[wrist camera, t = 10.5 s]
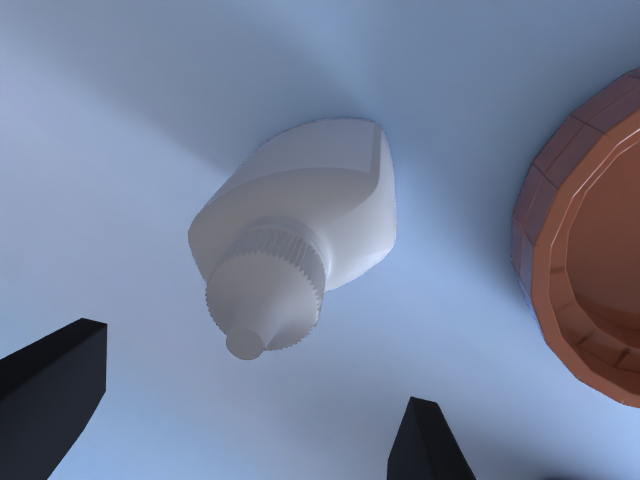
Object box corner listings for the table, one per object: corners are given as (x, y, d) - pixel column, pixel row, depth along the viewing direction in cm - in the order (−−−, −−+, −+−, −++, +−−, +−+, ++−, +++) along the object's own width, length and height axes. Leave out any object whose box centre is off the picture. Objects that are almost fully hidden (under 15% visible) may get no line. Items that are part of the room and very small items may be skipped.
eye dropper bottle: (260, 91, 19) (97, 197, 8) (405, 126, 19) (432, 279, 8) (243, 197, 21) (92, 397, 10) (375, 229, 21) (365, 465, 10)
